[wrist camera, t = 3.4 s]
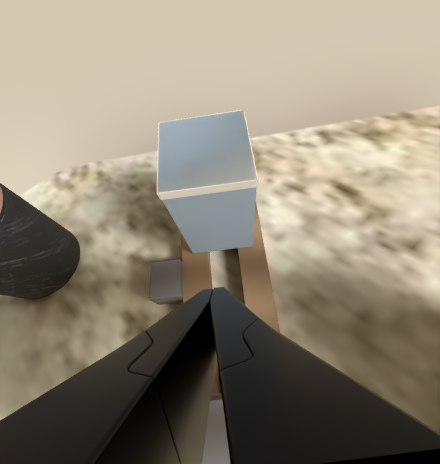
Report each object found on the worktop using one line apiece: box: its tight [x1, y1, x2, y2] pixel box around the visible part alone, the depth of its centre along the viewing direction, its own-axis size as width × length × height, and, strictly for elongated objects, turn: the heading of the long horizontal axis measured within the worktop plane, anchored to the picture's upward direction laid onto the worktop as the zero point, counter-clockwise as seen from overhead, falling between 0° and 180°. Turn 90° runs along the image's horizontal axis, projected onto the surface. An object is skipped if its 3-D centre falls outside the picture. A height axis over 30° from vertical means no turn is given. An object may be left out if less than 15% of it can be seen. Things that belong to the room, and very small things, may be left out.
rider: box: [157, 110, 258, 253], centre depth 18 cm, size 5×5×11 cm
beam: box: [150, 200, 280, 464], centre depth 19 cm, size 24×9×4 cm, turn 5°
